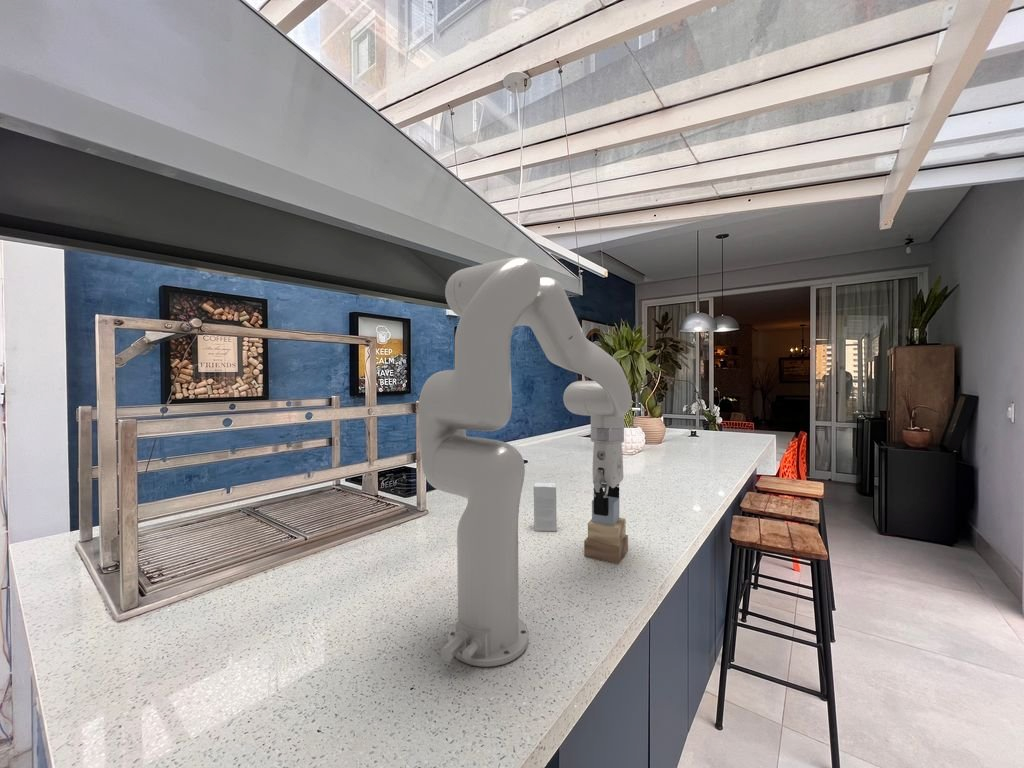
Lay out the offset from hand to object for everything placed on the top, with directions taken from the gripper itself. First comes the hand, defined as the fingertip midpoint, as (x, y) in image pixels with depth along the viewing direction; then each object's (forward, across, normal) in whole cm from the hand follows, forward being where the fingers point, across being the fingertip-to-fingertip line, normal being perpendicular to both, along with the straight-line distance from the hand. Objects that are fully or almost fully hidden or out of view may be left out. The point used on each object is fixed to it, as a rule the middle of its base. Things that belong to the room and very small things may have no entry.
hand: (606, 508), depth 98 cm
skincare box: (+11, +8, +19) cm, 23 cm away
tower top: (+7, 0, 0) cm, 7 cm away
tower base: (+11, 0, 0) cm, 11 cm away
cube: (+3, 0, 0) cm, 3 cm away
